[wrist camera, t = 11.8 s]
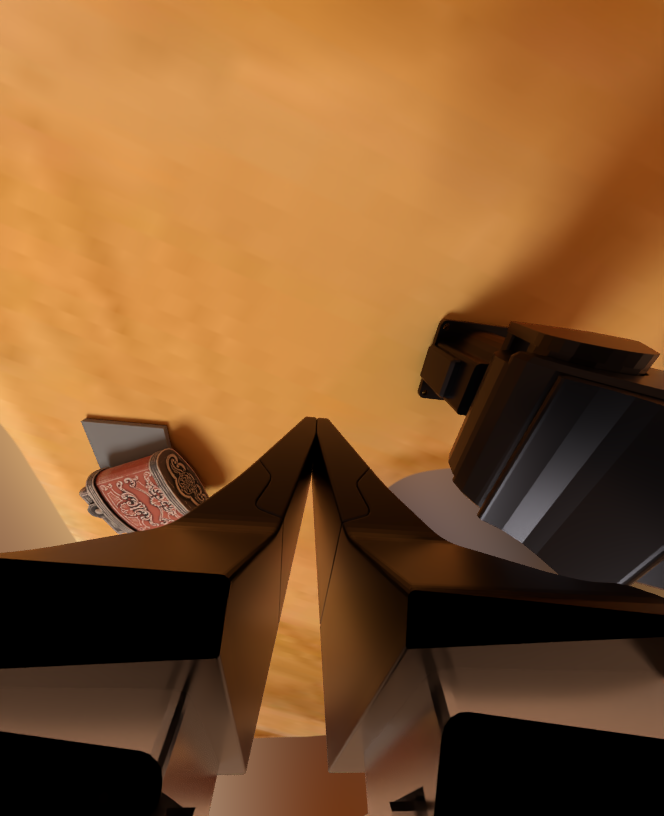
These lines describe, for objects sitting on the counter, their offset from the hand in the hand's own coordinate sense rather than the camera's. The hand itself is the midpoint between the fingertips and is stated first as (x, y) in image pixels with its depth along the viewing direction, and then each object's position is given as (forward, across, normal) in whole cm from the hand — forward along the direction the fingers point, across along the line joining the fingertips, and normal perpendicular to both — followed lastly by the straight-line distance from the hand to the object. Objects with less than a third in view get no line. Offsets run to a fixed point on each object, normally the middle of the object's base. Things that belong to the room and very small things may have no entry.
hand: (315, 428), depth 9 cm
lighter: (+10, +11, +14) cm, 20 cm away
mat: (+12, +17, +15) cm, 26 cm away
